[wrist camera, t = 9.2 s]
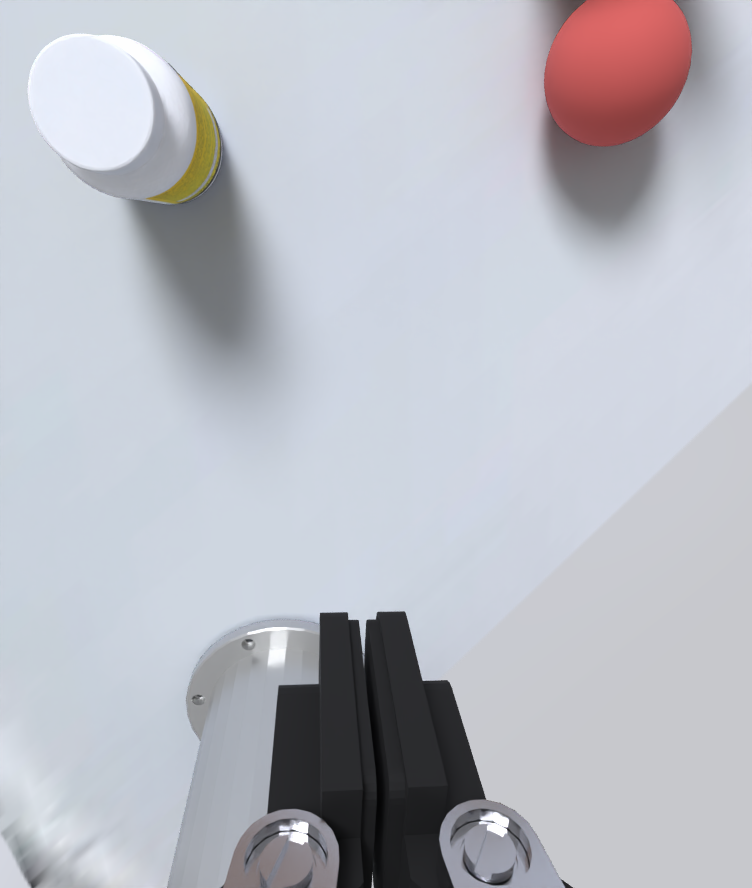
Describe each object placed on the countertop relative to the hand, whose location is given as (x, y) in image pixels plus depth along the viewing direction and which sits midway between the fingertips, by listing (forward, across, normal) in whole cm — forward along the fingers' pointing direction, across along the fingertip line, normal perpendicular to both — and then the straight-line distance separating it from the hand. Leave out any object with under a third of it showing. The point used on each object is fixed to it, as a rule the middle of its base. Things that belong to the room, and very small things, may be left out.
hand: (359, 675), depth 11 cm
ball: (+19, -12, -16) cm, 28 cm away
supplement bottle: (+23, +8, -12) cm, 27 cm away
